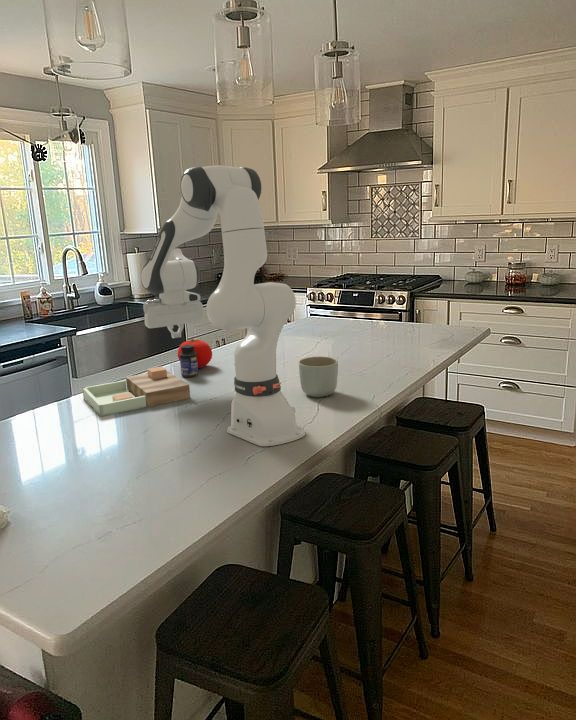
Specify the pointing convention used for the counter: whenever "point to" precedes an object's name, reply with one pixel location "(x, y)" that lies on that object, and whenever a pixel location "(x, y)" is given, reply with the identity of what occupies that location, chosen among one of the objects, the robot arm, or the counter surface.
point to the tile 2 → (157, 372)
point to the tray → (103, 399)
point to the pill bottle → (188, 361)
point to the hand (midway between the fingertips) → (176, 337)
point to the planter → (318, 375)
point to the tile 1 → (121, 397)
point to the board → (158, 388)
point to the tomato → (199, 351)
